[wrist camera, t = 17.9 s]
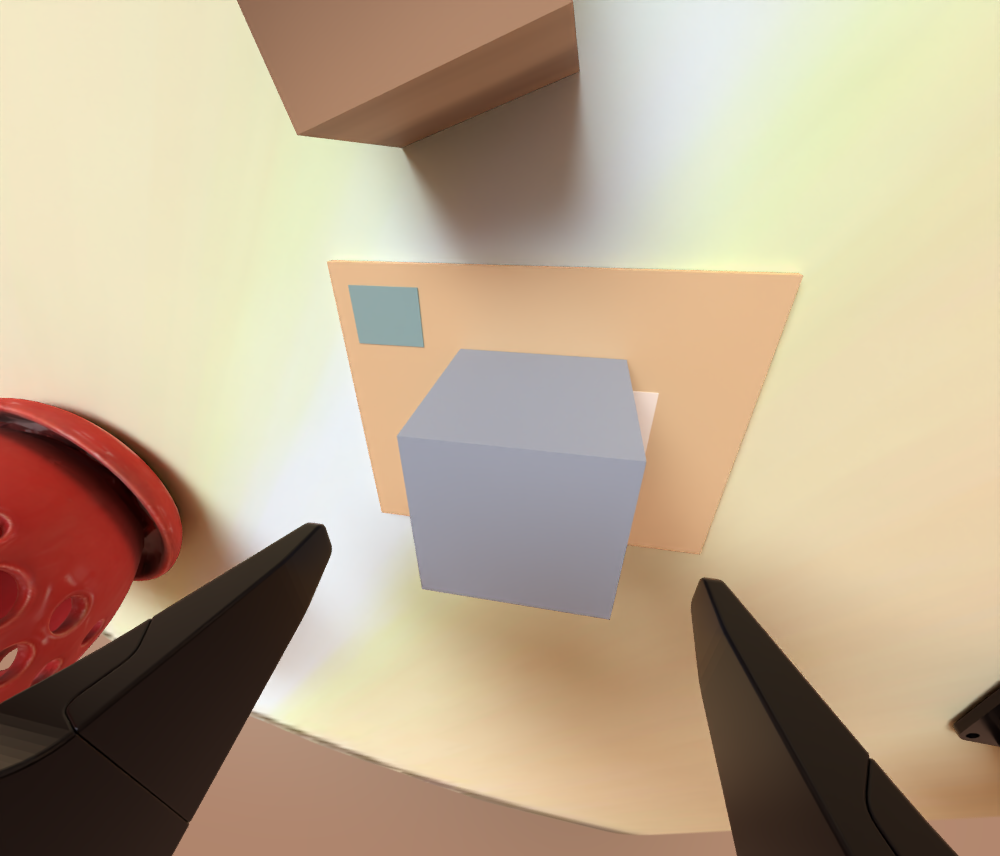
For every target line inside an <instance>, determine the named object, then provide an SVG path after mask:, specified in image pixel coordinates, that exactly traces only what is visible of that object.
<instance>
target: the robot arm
mask: <svg viewBox="0 0 1000 856" xmlns="http://www.w3.org/2000/svg"><path fill="white" fill-rule="evenodd" d="M331 552H332V546H331V542H330V539H329V536H328V533H327V530H326V528H325V526H324V525H323V524H318V523H306V524H304V525H302V526H301V527H299V528H297V529H296V530H294V531H292V532H291V533H289V534H288V535H286V536H284V537H283V538H281V539H279V540H278V541H276V542H274V543H273V544H271V545H270V546H268V547H266V548H265V549H263V550H261V551H260V552H258V553H257V554H255V555H253V556H252V557H250V558H248V559H247V560H245V561H243V562H242V563H240V564H239V565H237V566H235V567H234V568H232V569H230V570H229V571H227V572H225V573H224V574H222V575H221V576H219V577H217V578H216V579H214V580H212V581H211V582H209V583H207V584H206V585H204V586H203V587H201V588H199V589H198V590H196V591H194V592H193V593H191V594H189V595H188V596H186V597H185V598H183V599H181V600H180V601H178V602H176V603H175V604H173V605H171V606H170V607H168V608H167V609H165V610H163V611H162V612H160V613H158V614H157V615H155V616H154V617H153V618H152V619H148V620H147V621H145V622H143V623H142V624H140V625H139V626H137V627H135V628H134V629H132V630H130V631H129V632H127V633H125V634H124V635H122V636H120V637H119V638H117V639H115V640H113V641H112V642H110V643H108V644H107V645H105V646H104V647H102V648H100V649H98V650H96V651H95V652H93V653H91V654H89V655H88V656H86V657H84V658H82V659H80V660H78V661H77V662H75V663H73V664H71V665H69V666H68V667H66V668H64V669H62V670H60V671H58V672H57V673H55V674H53V675H51V676H49V677H47V678H46V679H44V680H42V681H40V682H38V683H36V684H34V685H33V686H31V687H29V688H27V689H25V690H23V691H22V692H20V693H18V694H16V695H14V696H12V697H10V698H9V699H7V700H5V701H3V702H1V703H0V856H172V854H173V853H174V851H175V849H176V848H177V846H178V844H179V842H180V840H181V839H182V837H183V835H184V833H185V831H186V829H187V828H188V826H189V822H190V821H191V820H192V818H193V816H194V814H195V813H196V811H197V809H198V807H199V805H200V804H201V802H202V800H203V798H204V796H205V794H206V793H207V791H208V789H209V787H210V785H211V784H212V782H213V780H214V778H215V776H216V775H217V773H218V771H219V769H220V767H221V765H222V764H223V762H224V760H225V758H226V756H227V755H228V753H229V751H230V749H231V747H232V745H233V744H234V742H235V740H236V738H237V737H238V735H239V733H240V731H241V729H242V727H243V726H244V724H245V722H246V720H247V718H248V717H249V715H250V713H251V711H252V709H253V708H254V706H255V704H256V702H257V700H258V699H259V697H260V695H261V693H262V691H263V689H264V688H265V686H266V684H267V682H268V680H269V679H270V677H271V675H272V673H273V671H274V670H275V668H276V666H277V664H278V662H279V661H280V659H281V657H282V655H283V653H284V651H285V650H286V648H287V646H288V644H289V642H290V641H291V639H292V637H293V635H294V633H295V632H296V630H297V628H298V626H299V624H300V622H301V621H302V619H303V617H304V615H305V613H306V611H307V609H308V607H309V605H310V602H311V600H312V598H313V595H314V593H315V591H316V588H317V586H318V584H319V581H320V579H321V577H322V574H323V572H324V570H325V567H326V565H327V563H328V561H329V558H330V556H331ZM691 614H692V623H693V632H694V641H695V651H696V660H697V669H698V677H699V684H700V689H701V694H702V699H703V703H704V708H705V712H706V717H707V721H708V726H709V730H710V735H711V740H712V744H713V749H714V753H715V758H716V762H717V767H718V771H719V776H720V780H721V785H722V789H723V794H724V798H725V803H726V807H727V812H728V817H729V821H730V826H731V830H732V835H733V839H734V843H735V848H736V852H737V856H958V855H957V854H956V853H955V851H953V850H952V848H951V847H950V846H949V845H948V844H947V843H946V842H945V841H944V840H943V838H941V836H940V835H939V834H938V833H937V832H936V831H935V830H934V829H933V828H932V826H930V824H929V823H928V822H927V821H926V820H925V819H924V817H923V816H922V815H921V814H920V813H919V812H918V811H917V809H916V808H915V807H914V806H913V805H912V804H911V803H910V801H909V800H908V799H907V798H906V797H905V796H904V794H903V793H902V792H901V791H900V790H899V789H898V788H897V786H896V785H895V784H894V783H893V782H892V781H891V779H890V778H889V777H888V776H887V775H886V773H885V772H884V771H883V770H882V769H881V768H880V766H879V765H878V764H877V763H876V762H875V760H873V759H871V758H869V754H868V752H867V751H866V750H865V749H864V748H863V746H862V745H861V744H860V743H859V742H858V741H857V739H856V738H855V737H854V736H853V735H852V733H851V732H850V731H849V730H848V729H847V727H846V726H845V725H844V724H843V723H842V722H841V720H840V719H839V718H838V717H837V716H836V714H835V713H834V712H833V711H832V710H831V708H830V707H829V706H828V705H827V704H826V703H825V701H824V700H823V699H822V698H821V697H820V695H819V694H818V693H817V692H816V691H815V689H814V688H813V687H812V686H811V685H810V684H809V682H808V681H807V680H806V679H805V678H804V676H803V675H802V674H801V673H800V672H799V671H798V669H797V668H796V667H795V666H794V665H793V663H792V662H791V661H790V660H789V659H788V657H787V656H786V655H785V654H784V653H783V652H782V650H781V649H780V648H779V647H778V646H777V644H776V643H775V642H774V641H773V640H772V638H771V637H770V636H769V635H768V634H767V633H766V631H765V630H764V629H763V628H762V627H761V625H760V624H759V623H758V622H757V621H756V619H755V618H754V617H753V616H752V615H751V614H750V612H749V611H748V610H747V609H746V608H745V606H744V605H743V604H742V603H741V602H740V601H739V599H738V598H737V597H736V596H735V595H734V593H733V592H732V591H731V590H730V589H729V587H728V586H727V585H726V584H725V583H724V582H723V581H721V580H719V579H712V578H705V577H704V578H701V579H700V581H699V583H698V586H697V588H696V591H695V593H694V596H693V598H692V602H691ZM953 728H954V730H955V731H956V733H957V734H958V736H959V737H960V738H961V739H963V740H967V741H972V742H978V743H983V744H989V745H994V746H999V747H1000V688H999V689H998V690H997V691H995V692H994V693H993V694H991V695H990V696H989V697H988V698H986V699H985V700H984V701H983V702H981V703H980V704H979V705H978V706H976V707H975V708H974V709H973V710H971V711H970V712H969V713H967V714H966V715H965V716H964V717H962V718H961V719H960V720H959V721H957V722H956V723H955V724H954V725H953Z"/></svg>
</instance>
